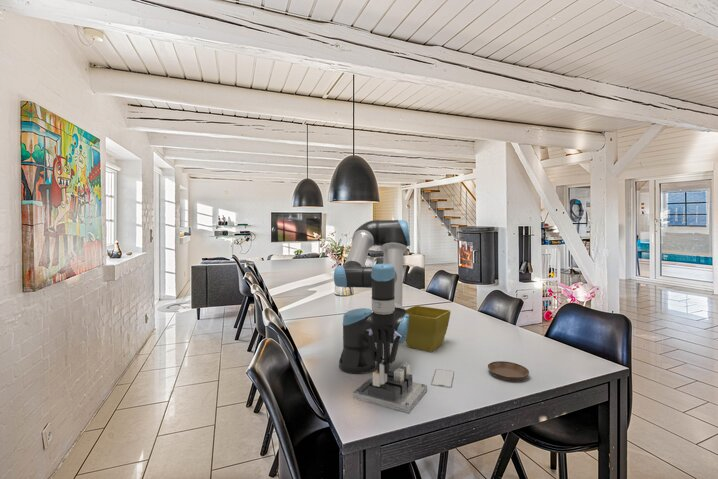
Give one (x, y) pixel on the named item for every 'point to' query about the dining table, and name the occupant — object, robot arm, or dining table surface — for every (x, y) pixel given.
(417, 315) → the flower pot
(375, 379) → the block with orange pad
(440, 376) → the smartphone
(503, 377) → the saucer
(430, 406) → the dining table surface
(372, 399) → the panel
